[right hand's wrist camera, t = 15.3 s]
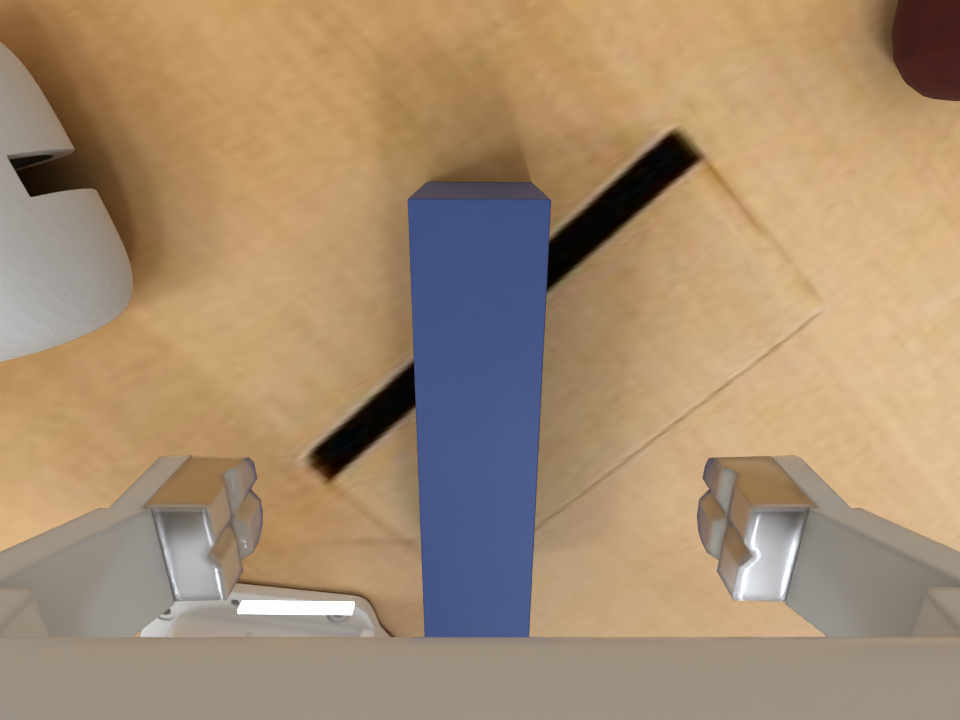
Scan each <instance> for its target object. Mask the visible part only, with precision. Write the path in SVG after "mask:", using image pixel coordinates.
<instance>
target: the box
mask: <svg viewBox="0 0 960 720" xmlns="http://www.w3.org/2000/svg"><path fill="white" fill-rule="evenodd" d="M550 210H551V200H550V199H549V198H548V197H547V196H546V195H545V194H544V193H543V192H541V191H540V190H539V189H538V188H537V187H536V186H535V185H534V184H533V183H516V182H426V183H425V184H424V185H423V186H422V187H421V188H420V189H419V190H417V191H416V192H415V193H414V194H413V195H412V196H411V197H410V198H409V199H408V218H409V243H410V269H411V295H412V321H413V346H414V372H415V398H416V424H417V449H418V475H419V501H420V527H421V552H422V578H423V604H424V630H425V637H529V627H530V607H531V587H532V567H533V547H534V527H535V508H536V488H537V468H538V448H539V428H540V408H541V389H542V369H543V349H544V329H545V309H546V289H547V270H548V250H549V230H550Z"/></svg>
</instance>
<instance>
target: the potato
mask: <svg viewBox="0 0 960 720" xmlns="http://www.w3.org/2000/svg"><path fill="white" fill-rule="evenodd" d="M892 39H893V55H894V62H895V64H896V66H897V68H898V70H899V72H900V74H901V76H902V78H903V80H904V81H905V82H906V83H907V84H908V85H909V86H910V87H912V88H913V89H914V90H916V91H917V92H918V93H920V94H921V95H922V96H925V97H929V98H932V99H941V100H951V101H960V0H899V2H898V6H897V11H896V15H895V20H894V24H893V29H892Z"/></svg>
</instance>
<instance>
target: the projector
mask: <svg viewBox="0 0 960 720" xmlns="http://www.w3.org/2000/svg"><path fill="white" fill-rule="evenodd" d="M74 151H75V149H74V147H73V145H72V143H71V141H70V139H69V138H68V136H67V134H66V132H65V130H64V128H63V127H62V125H61V123H60V121H59V120H58V118H57V116H56V114H55V112H54V111H53V109H52V107H51V105H50V104H49V102H48V100H47V99H46V97H45V96H44V94H43V92H42V91H41V89H40V87H39V86H38V84H37V83H36V81H35V80H34V78H33V77H32V76H31V74H30V73H29V71H28V70H27V69H26V67H25V66H24V65H23V64H22V63H21V61H20V60H19V59H18V58H17V57H16V56H15V55H14V54H13V53H12V52H11V51H10V50H9V49H8V48H7V47H6V46H5V45H4V44H2V43H1V42H0V362H2V361H6V360H10V359H14V358H18V357H22V356H26V355H30V354H33V353H37V352H40V351H43V350H46V349H49V348H52V347H55V346H58V345H61V344H64V343H67V342H69V341H72V340H74V339H77V338H79V337H82V336H84V335H86V334H88V333H90V332H93V331H95V330H97V329H99V328H100V327H102V326H104V325H106V324H108V323H109V322H111V321H112V320H114V319H115V318H116V317H118V316H119V315H120V314H121V313H122V312H123V311H124V310H125V308H126V307H127V306H128V304H129V302H130V300H131V297H132V293H133V273H132V269H131V264H130V261H129V258H128V255H127V253H126V250H125V247H124V245H123V243H122V241H121V238H120V236H119V234H118V232H117V230H116V228H115V226H114V224H113V222H112V220H111V218H110V215H109V213H108V212H107V210H106V208H105V206H104V204H103V202H102V200H101V198H100V196H99V194H98V192H97V190H95V189H75V190H67V191H61V192H55V193H50V194H44V195H40V196H35V197H30V195H29V194H28V193H27V191H26V189H25V187H24V186H23V184H22V182H21V180H20V179H19V177H18V175H17V173H16V172H15V171H18V170H22V169H25V168H29V167H32V166H36V165H39V164H43V163H46V162H50V161H53V160H56V159H59V158H62V157H65V156H68V155H70V154H72V153H73V152H74Z"/></svg>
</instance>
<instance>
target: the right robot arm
mask: <svg viewBox="0 0 960 720" xmlns="http://www.w3.org/2000/svg"><path fill="white" fill-rule="evenodd" d="M256 480H257V475H256V470H255V465H254V462H253V461H252V460H251V459H250V458H249V457H221V456H165V457H160V458H159V459H158V460H157V461H156V462H155V463H154V464H153V465H152V466H151V467H150V468H149V469H148V470H147V471H146V472H145V473H144V474H143V475H142V476H141V477H140V478H139V479H137V480H136V481H135V482H134V483H133V484H132V485H131V486H130V487H129V488H128V489H127V490H126V491H125V492H124V493H123V494H122V495H121V496H120V497H119V498H118V499H117V500H116V501H115V502H114V503H113V504H112V505H111V506H110V507H109V508H99V509H97V510H94V511H92V512H90V513H87V514H85V515H83V516H81V517H78V518H76V519H74V520H72V521H69V522H67V523H65V524H63V525H60V526H58V527H56V528H53V529H51V530H49V531H47V532H44V533H42V534H40V535H38V536H35V537H33V538H31V539H29V540H26V541H24V542H22V543H19V544H17V545H15V546H13V547H10V548H8V549H6V550H4V551H1V552H0V720H960V552H958V551H956V550H954V549H952V548H949V547H947V546H945V545H943V544H940V543H938V542H936V541H934V540H931V539H929V538H927V537H924V536H922V535H920V534H918V533H915V532H913V531H911V530H909V529H906V528H904V527H902V526H900V525H897V524H895V523H893V522H891V521H888V520H886V519H884V518H882V517H879V516H877V515H875V514H873V513H870V512H868V511H866V510H863V509H861V508H851V507H850V506H849V505H848V504H847V503H846V502H845V501H844V500H843V499H842V498H841V497H840V496H839V495H838V494H837V493H836V492H835V491H834V490H833V489H832V488H831V487H830V486H829V485H828V484H827V483H826V482H825V481H824V480H823V479H822V478H821V477H820V476H819V475H818V474H817V473H816V472H815V471H814V470H813V469H812V468H811V467H810V466H809V465H808V464H807V463H806V462H805V461H804V460H803V459H802V458H800V457H797V456H794V455H789V456H761V457H721V458H709V459H708V461H707V463H706V465H705V469H704V474H703V480H704V481H705V483H706V484H707V486H708V488H709V490H708V491H707V492H706V493H705V494H704V495H703V496H702V497H701V498H700V499H699V505H698V512H697V521H698V531H699V535H700V538H701V541H702V544H703V546H704V548H705V550H706V551H707V553H709V554H710V555H712V556H713V557H715V558H716V559H718V560H719V563H718V569H717V572H718V574H719V575H720V577H721V579H722V581H723V583H724V584H725V586H726V588H727V590H728V592H729V594H730V595H731V597H732V599H733V600H746V601H782V602H786V603H785V604H786V605H787V606H789V607H790V608H791V609H792V610H794V611H795V612H796V613H798V614H799V615H800V616H801V617H803V618H804V619H805V620H806V621H808V622H809V623H810V624H812V625H813V626H814V627H815V628H817V629H818V630H819V631H821V632H822V633H823V634H824V635H826V636H827V637H391V636H390V635H389V634H388V633H387V632H386V631H385V630H384V629H383V628H382V627H381V626H380V624H379V622H378V619H377V617H376V614H375V612H374V610H373V608H372V606H371V605H370V603H369V602H368V601H367V600H366V599H364V598H362V597H360V596H355V595H346V594H337V593H327V592H317V591H308V590H298V589H289V588H279V587H269V586H260V585H250V584H241V583H237V581H238V579H239V577H240V575H241V574H242V572H243V569H242V563H241V560H242V559H244V558H245V557H247V556H248V555H250V554H251V553H253V551H254V549H255V547H256V546H257V544H258V542H259V538H260V534H261V529H262V525H263V510H262V504H261V499H260V498H259V497H258V496H257V495H256V494H255V493H254V492H253V491H252V490H251V488H252V486H253V484H254V483H255V481H256ZM140 631H141V634H140V637H133V636H135V635H136V634H137V633H138V632H140Z"/></svg>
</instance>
